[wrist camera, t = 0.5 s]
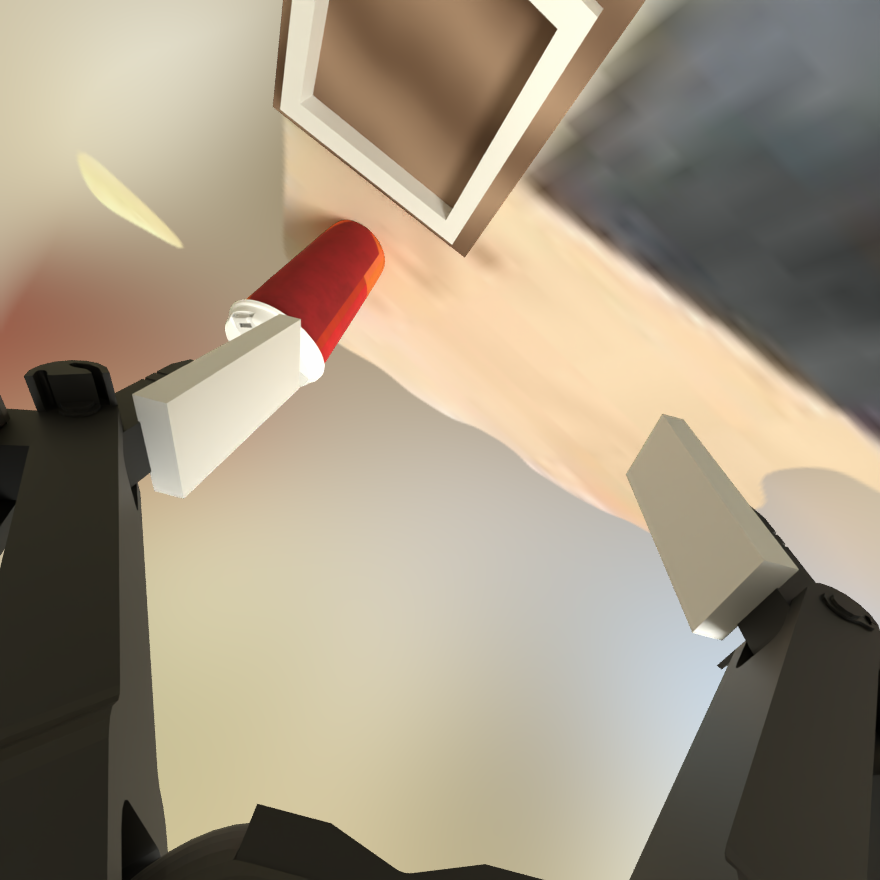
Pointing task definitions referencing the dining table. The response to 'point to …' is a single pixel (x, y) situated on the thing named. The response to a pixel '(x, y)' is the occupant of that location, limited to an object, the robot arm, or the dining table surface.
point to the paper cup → (316, 293)
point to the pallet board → (440, 92)
